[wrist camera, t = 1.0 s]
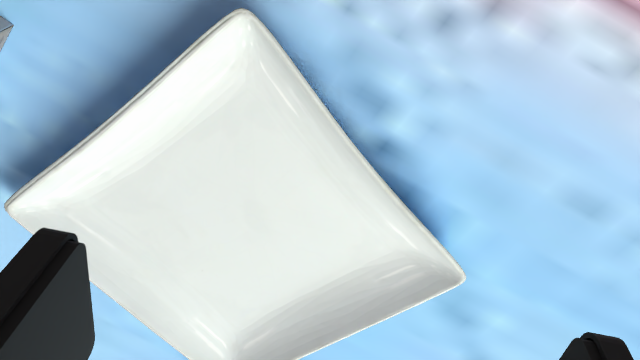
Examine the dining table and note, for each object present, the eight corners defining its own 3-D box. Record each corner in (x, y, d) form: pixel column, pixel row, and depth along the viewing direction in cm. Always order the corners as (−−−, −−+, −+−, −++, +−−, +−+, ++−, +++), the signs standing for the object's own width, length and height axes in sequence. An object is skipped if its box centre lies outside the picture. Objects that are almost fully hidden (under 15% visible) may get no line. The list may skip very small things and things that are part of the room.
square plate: (253, -14, 34) (241, 1, 30) (465, 253, 44) (473, 285, 41) (20, 186, 44) (-8, 213, 41) (236, 363, 55) (227, 396, 51)
